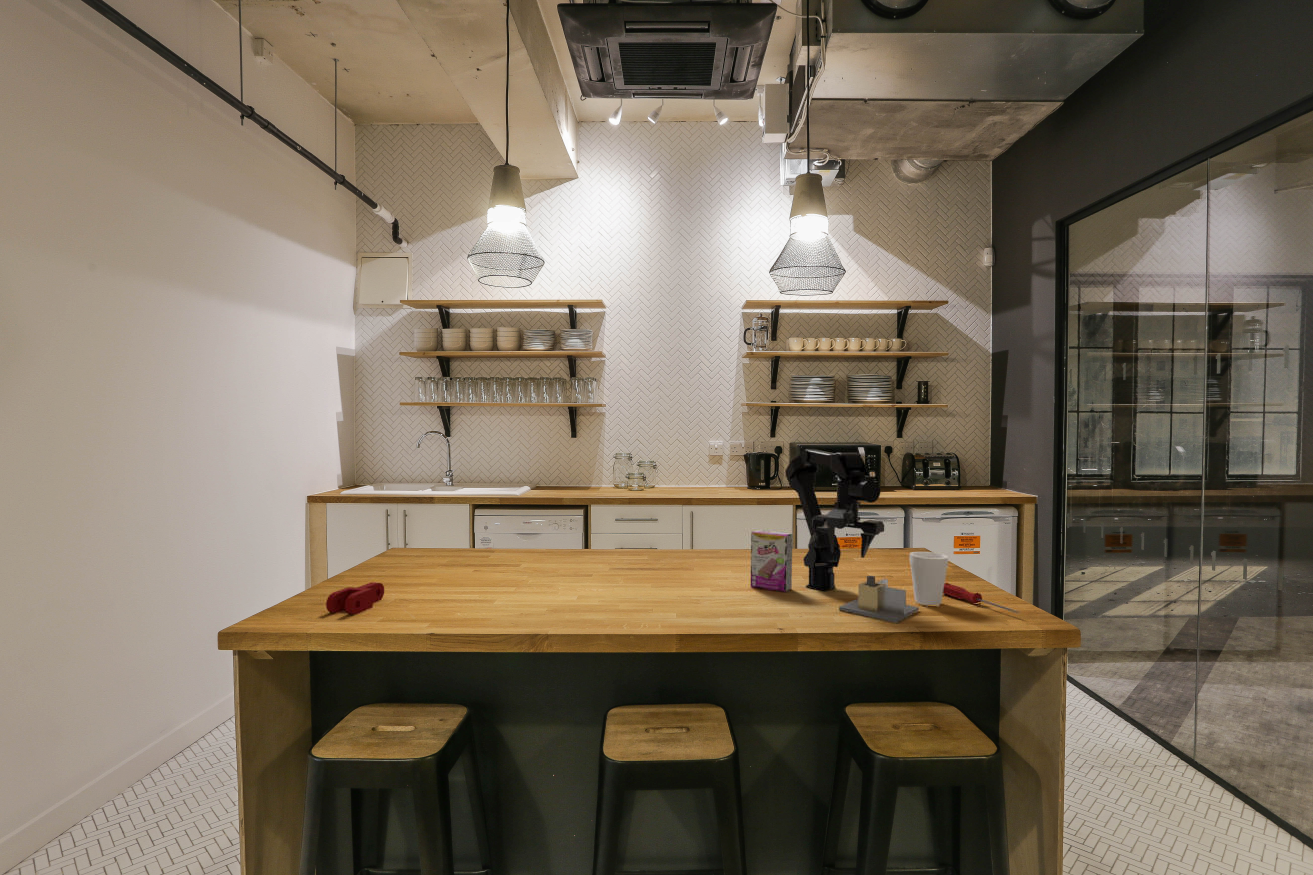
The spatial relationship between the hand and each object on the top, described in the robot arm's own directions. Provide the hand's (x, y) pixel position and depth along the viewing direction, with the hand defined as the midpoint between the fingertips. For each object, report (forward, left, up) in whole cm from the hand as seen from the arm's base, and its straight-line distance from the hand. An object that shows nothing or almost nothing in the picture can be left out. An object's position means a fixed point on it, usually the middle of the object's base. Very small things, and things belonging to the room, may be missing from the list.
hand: (846, 555), depth 176 cm
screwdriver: (+29, +18, -12) cm, 36 cm away
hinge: (+13, -4, -11) cm, 18 cm away
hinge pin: (+10, -7, -11) cm, 17 cm away
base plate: (+12, -5, -12) cm, 17 cm away
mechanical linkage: (-87, -95, -12) cm, 130 cm away
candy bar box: (-21, -5, -12) cm, 25 cm away
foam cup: (+18, +11, -12) cm, 24 cm away
